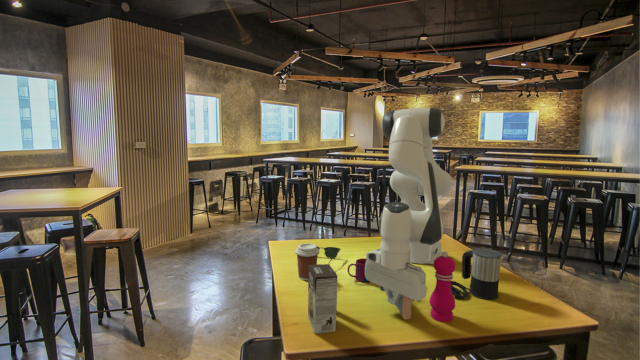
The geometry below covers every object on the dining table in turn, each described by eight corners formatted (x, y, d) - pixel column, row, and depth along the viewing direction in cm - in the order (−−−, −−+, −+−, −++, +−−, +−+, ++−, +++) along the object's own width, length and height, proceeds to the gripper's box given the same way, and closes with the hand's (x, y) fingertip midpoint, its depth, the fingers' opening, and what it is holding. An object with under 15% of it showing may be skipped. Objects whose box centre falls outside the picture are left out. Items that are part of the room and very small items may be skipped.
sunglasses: (292, 268, 143) (292, 256, 143) (304, 255, 160) (304, 244, 159) (332, 273, 139) (332, 260, 139) (340, 258, 156) (340, 247, 155)
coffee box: (307, 317, 105) (307, 264, 102) (328, 315, 106) (329, 263, 104) (313, 334, 96) (314, 276, 94) (336, 331, 97) (338, 274, 95)
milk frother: (503, 294, 121) (506, 252, 120) (484, 309, 111) (487, 263, 109) (462, 281, 132) (465, 242, 130) (441, 294, 121) (443, 252, 119)
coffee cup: (316, 271, 140) (316, 241, 138) (321, 280, 131) (322, 249, 129) (293, 273, 138) (293, 243, 136) (296, 282, 129) (297, 250, 127)
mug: (375, 282, 130) (376, 264, 130) (349, 283, 129) (349, 265, 128) (370, 275, 137) (370, 257, 136) (344, 276, 135) (345, 259, 134)
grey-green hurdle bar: (382, 288, 123) (382, 268, 122) (387, 287, 123) (388, 267, 122) (404, 319, 102) (405, 295, 101) (410, 318, 102) (411, 295, 102)
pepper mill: (430, 309, 111) (433, 246, 108) (454, 313, 108) (459, 249, 105) (427, 319, 104) (431, 253, 101) (453, 325, 101) (458, 257, 99)
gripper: (432, 266, 99) (429, 313, 100) (375, 247, 114) (374, 289, 116) (419, 271, 95) (416, 321, 96) (362, 251, 110) (360, 294, 112)
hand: (393, 303), depth 106 cm, fingers closed
